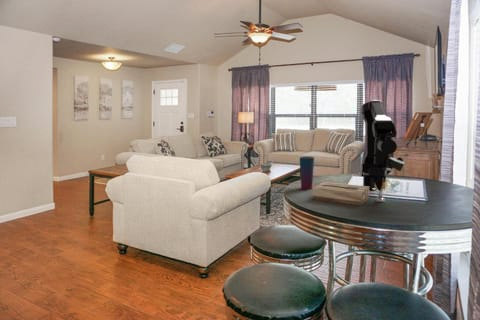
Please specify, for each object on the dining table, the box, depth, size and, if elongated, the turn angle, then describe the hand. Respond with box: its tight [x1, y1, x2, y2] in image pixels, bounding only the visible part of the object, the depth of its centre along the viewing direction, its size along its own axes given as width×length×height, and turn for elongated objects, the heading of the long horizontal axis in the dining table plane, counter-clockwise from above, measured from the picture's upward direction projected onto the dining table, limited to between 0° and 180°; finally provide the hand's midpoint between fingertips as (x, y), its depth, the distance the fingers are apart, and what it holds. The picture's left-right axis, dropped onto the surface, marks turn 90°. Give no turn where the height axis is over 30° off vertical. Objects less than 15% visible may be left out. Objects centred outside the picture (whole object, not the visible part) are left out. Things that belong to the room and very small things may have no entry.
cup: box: [299, 155, 315, 191], centre depth 171 cm, size 7×7×15 cm
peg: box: [375, 179, 388, 203], centre depth 147 cm, size 4×4×8 cm
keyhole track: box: [312, 181, 370, 206], centre depth 152 cm, size 13×20×5 cm, turn 57°
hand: (380, 189), depth 147 cm, fingers open, 4 cm apart
